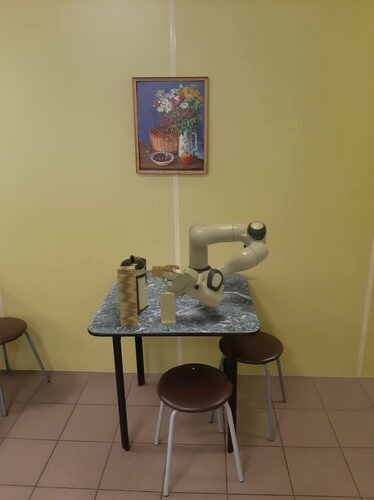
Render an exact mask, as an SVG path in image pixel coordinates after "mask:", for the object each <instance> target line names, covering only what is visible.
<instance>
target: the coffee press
mask: <svg viewBox="0 0 374 500" xmlns="http://www.w3.org/2000/svg"><path fill="white" fill-rule="evenodd" d="M134 257H135V255H133V254H131V255H130V256H129V258H127V259H124V260H122V261H121V263H120V265H119V267H121V266H135V270H145V263H144V262H143V261H142V260H141V259H137V258H134ZM135 275H136V295H137V314H138V316H139V315H141V310H143V309H145V308H147V307H148V308H149V304H148V303H147V288H146V287H147V286H146V282H145V273H135Z"/></svg>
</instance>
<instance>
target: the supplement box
mask: <svg viewBox="0 0 374 500" xmlns="http://www.w3.org/2000/svg"><path fill="white" fill-rule="evenodd" d="M134 258H137V259H141V260H142V261H143V262H144V263H145V270H148V269H147V259H146V258H144V257H141V256H138V255H137V256H134ZM147 274H148V273H145V282H146V283H148V275H147Z"/></svg>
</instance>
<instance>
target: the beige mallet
mask: <svg viewBox="0 0 374 500" xmlns="http://www.w3.org/2000/svg"><path fill="white" fill-rule="evenodd" d="M163 267H164V266H161V265H160V266H159V265H155V266H151V270H150V269H147V270H135V273H147V274H151V277H152V278H164V274H163Z"/></svg>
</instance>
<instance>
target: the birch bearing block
mask: <svg viewBox="0 0 374 500" xmlns="http://www.w3.org/2000/svg"><path fill="white" fill-rule="evenodd" d="M116 273H117V275H116V276H117V287H118V288H117V289H118V290H117V291H118V302H119V303H118V305H119V306H118V307H119V321H120V327H137V326H138V325H139V321H138V320H139V317H138V316H139V315H138V314H137V295H136V275H135V266H121V267H120V266H117V269H116Z"/></svg>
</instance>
